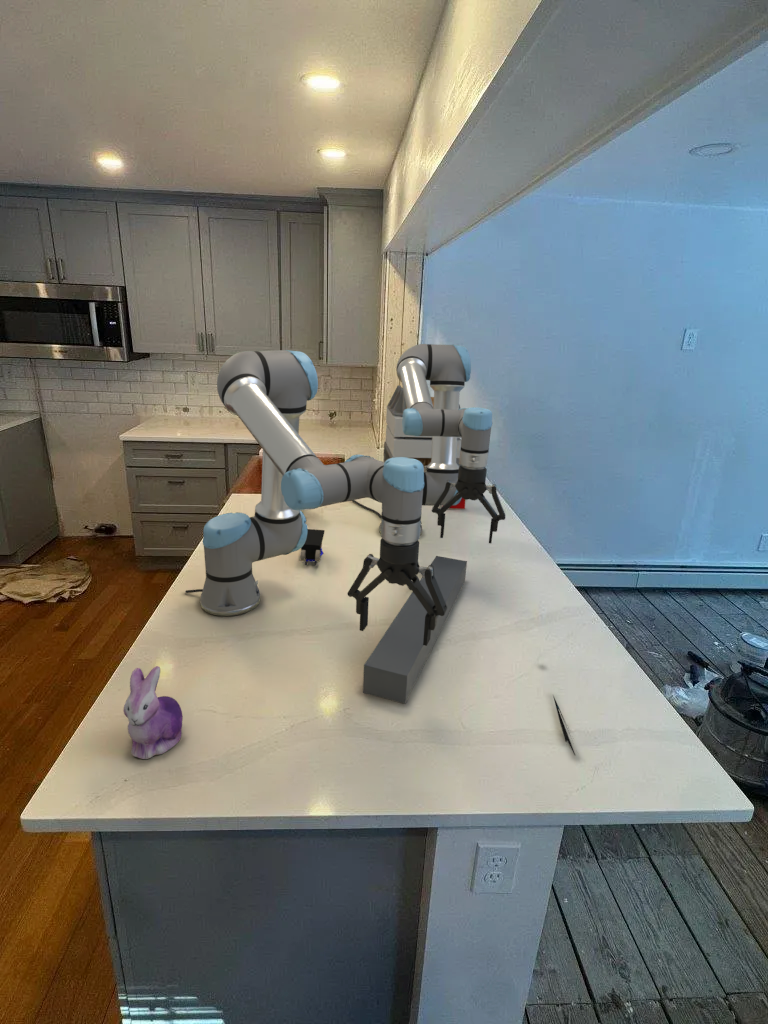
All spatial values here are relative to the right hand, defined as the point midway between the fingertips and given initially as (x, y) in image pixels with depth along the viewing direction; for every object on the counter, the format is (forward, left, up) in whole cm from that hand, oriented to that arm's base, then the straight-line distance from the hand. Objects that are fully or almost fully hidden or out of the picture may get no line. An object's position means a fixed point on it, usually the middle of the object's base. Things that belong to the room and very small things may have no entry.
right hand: (465, 539), depth 160 cm
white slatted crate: (-92, +72, -14) cm, 118 cm away
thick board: (+10, -26, -14) cm, 31 cm away
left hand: (+23, -47, -2) cm, 52 cm away
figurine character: (-39, -25, -14) cm, 49 cm away
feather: (+49, -25, -14) cm, 57 cm away
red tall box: (-57, +56, -14) cm, 81 cm away
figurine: (+10, -91, -14) cm, 93 cm away
